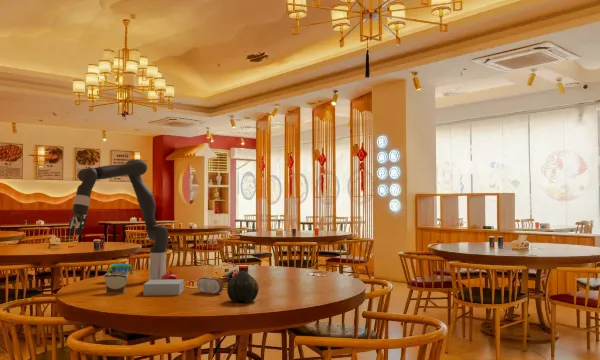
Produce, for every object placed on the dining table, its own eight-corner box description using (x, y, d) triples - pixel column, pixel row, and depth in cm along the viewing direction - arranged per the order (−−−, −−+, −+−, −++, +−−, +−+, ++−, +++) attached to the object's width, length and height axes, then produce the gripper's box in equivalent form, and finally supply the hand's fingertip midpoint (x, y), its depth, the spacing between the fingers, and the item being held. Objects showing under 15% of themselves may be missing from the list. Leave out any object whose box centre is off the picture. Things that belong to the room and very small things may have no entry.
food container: (131, 291, 269) (131, 272, 269) (126, 293, 263) (126, 274, 263) (109, 291, 270) (109, 272, 271) (103, 293, 264) (104, 273, 264)
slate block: (149, 290, 274) (149, 279, 274) (183, 290, 276) (183, 279, 276) (143, 296, 258) (143, 284, 258) (179, 295, 260) (179, 283, 260)
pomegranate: (156, 287, 284) (157, 270, 285) (167, 284, 293) (168, 268, 294) (171, 288, 280) (171, 271, 281) (182, 285, 290) (182, 269, 290)
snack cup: (128, 279, 314) (128, 262, 314) (136, 281, 306) (136, 264, 306) (103, 281, 303) (103, 264, 303) (111, 283, 295) (111, 266, 296)
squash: (241, 294, 233) (254, 267, 242) (217, 292, 240) (230, 266, 250) (256, 311, 241) (268, 284, 250) (231, 308, 249) (244, 283, 258)
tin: (223, 294, 264) (223, 277, 264) (220, 295, 261) (220, 278, 261) (199, 291, 270) (200, 275, 271) (196, 292, 267) (196, 276, 268)
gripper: (94, 205, 263) (88, 236, 259) (82, 207, 273) (75, 237, 268) (80, 202, 258) (73, 233, 253) (68, 204, 267) (61, 235, 263)
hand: (74, 235), depth 261 cm, fingers open, 8 cm apart
